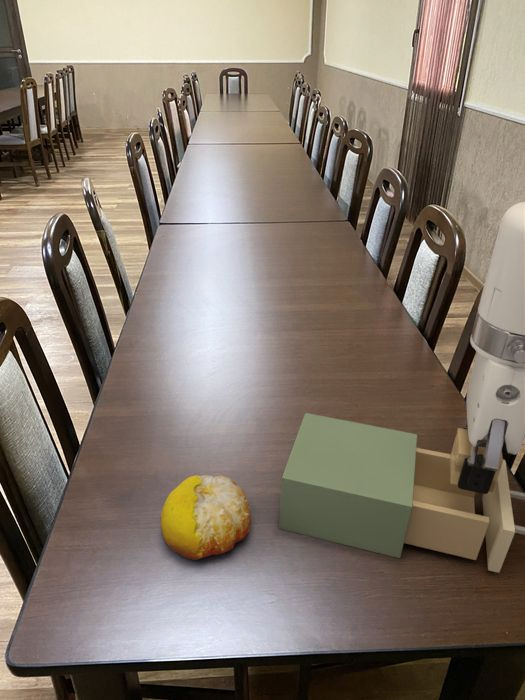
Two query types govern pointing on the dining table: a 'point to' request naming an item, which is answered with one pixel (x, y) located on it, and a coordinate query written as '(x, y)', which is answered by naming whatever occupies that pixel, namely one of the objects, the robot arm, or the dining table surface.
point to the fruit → (205, 516)
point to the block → (462, 452)
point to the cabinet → (349, 484)
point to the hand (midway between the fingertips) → (471, 471)
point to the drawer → (459, 513)
